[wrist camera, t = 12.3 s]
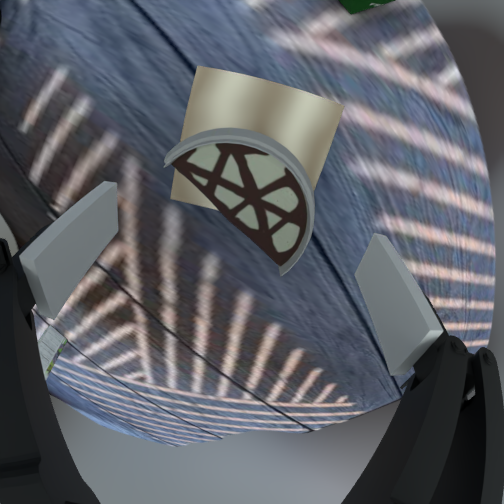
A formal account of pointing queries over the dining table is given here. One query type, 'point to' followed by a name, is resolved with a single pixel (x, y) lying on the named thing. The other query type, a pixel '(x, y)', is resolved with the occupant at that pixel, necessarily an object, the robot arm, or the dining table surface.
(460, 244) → the dining table surface
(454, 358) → the robot arm
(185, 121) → the birch riser block
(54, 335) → the syrup box
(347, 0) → the milk carton
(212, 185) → the food container
